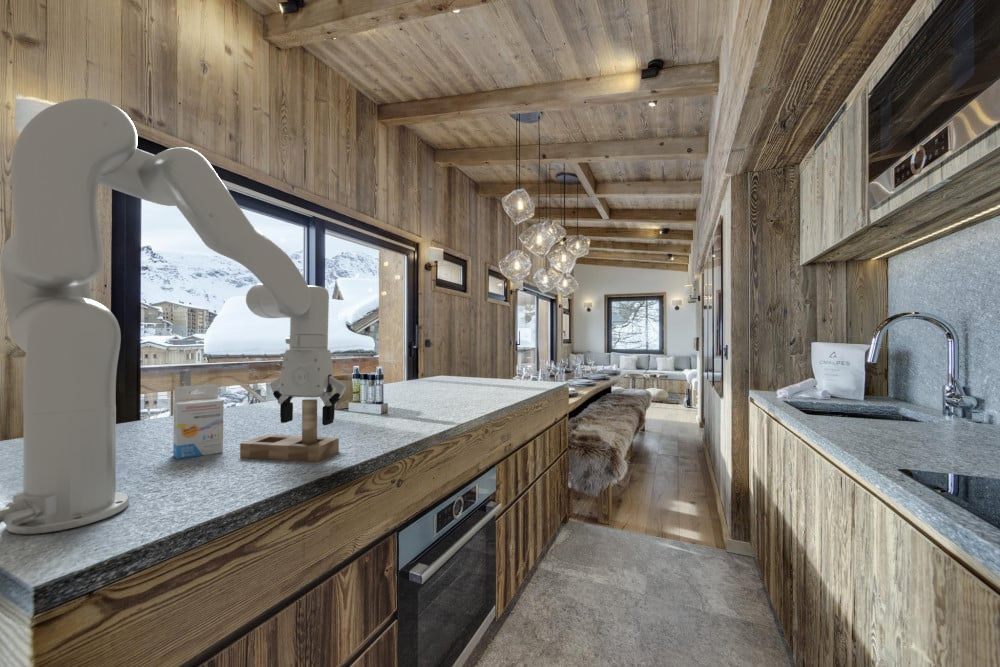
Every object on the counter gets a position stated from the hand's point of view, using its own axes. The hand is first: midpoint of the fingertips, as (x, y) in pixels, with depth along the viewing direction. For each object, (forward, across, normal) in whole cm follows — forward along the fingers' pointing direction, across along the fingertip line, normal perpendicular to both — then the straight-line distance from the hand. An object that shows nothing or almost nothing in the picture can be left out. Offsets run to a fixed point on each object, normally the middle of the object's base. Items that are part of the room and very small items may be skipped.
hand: (307, 422), depth 93 cm
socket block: (+7, -4, +1) cm, 8 cm away
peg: (+7, 0, +1) cm, 7 cm away
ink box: (+8, -24, -2) cm, 25 cm away
